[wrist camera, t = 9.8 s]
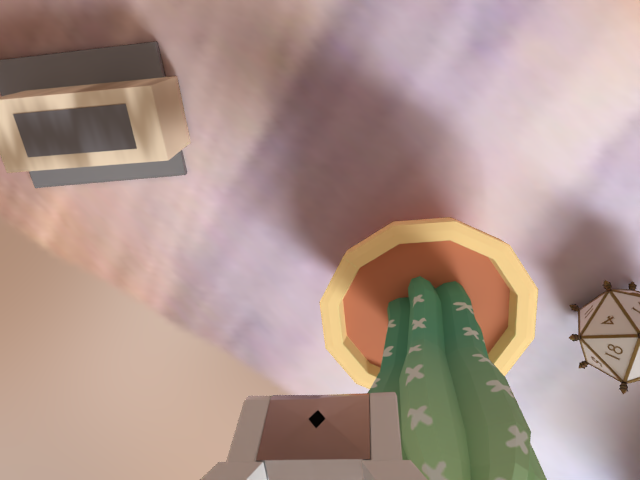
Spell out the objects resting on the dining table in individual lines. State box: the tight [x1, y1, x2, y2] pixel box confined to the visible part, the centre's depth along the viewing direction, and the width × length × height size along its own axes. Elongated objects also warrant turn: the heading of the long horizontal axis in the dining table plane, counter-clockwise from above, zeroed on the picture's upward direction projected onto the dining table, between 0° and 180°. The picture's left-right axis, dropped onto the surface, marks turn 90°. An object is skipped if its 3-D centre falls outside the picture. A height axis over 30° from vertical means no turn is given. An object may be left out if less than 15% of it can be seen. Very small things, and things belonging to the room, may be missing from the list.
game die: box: [569, 280, 640, 394], centre depth 39 cm, size 9×8×10 cm
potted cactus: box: [320, 217, 547, 480], centre depth 31 cm, size 15×15×25 cm
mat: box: [0, 41, 187, 188], centre depth 39 cm, size 10×13×1 cm
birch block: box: [0, 76, 191, 173], centre depth 36 cm, size 5×5×12 cm
